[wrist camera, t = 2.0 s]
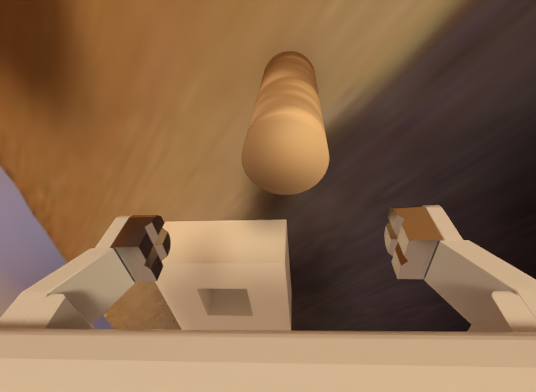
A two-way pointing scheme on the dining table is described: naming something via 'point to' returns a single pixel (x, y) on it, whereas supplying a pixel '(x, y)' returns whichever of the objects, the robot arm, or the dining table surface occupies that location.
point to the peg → (286, 129)
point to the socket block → (228, 275)
